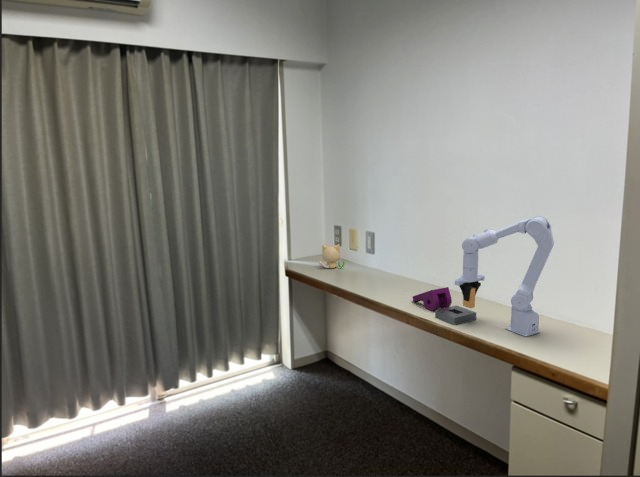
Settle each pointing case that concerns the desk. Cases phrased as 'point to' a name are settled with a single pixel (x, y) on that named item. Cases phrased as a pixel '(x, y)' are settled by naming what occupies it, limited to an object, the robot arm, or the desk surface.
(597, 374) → the desk surface
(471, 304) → the orange-brown rectangular block
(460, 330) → the desk surface
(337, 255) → the kitten
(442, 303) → the mounting bracket
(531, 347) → the desk surface
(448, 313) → the grey slotted square block
